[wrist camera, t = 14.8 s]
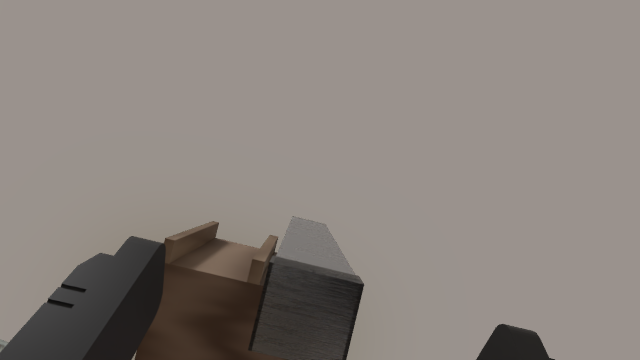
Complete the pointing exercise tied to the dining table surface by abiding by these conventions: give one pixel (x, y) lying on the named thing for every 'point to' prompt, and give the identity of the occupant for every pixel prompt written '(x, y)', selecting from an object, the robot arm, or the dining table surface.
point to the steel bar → (307, 298)
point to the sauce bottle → (2, 344)
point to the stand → (208, 298)
